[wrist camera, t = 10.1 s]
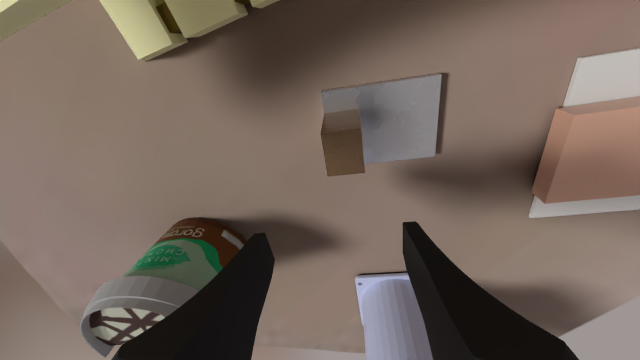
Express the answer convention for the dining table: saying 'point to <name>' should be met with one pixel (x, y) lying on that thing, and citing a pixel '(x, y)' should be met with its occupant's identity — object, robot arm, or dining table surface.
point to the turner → (380, 122)
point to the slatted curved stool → (140, 19)
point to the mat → (592, 87)
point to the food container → (159, 282)
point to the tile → (591, 153)
